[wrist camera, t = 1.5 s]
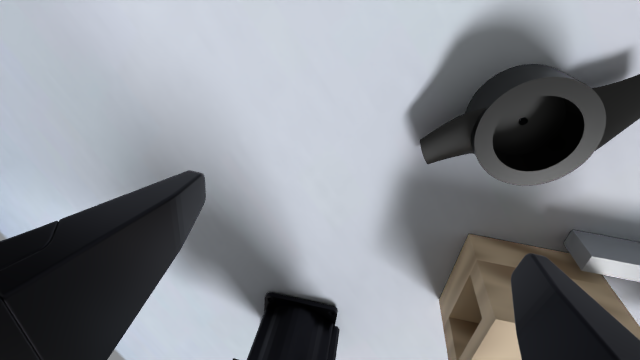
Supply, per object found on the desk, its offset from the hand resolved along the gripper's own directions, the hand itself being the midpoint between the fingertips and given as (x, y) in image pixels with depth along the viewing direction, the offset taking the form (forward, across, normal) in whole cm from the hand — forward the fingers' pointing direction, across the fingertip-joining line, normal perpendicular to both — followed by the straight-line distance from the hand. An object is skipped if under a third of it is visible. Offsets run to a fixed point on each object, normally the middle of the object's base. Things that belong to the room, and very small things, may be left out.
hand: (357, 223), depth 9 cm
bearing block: (+12, -13, +12) cm, 21 cm away
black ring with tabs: (+13, -8, 0) cm, 15 cm away
